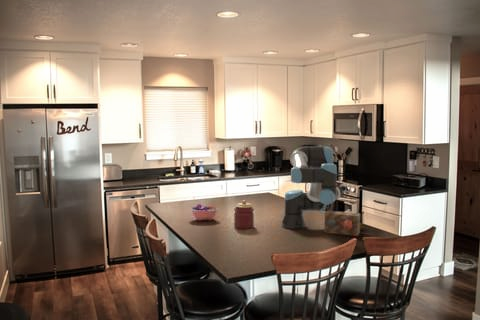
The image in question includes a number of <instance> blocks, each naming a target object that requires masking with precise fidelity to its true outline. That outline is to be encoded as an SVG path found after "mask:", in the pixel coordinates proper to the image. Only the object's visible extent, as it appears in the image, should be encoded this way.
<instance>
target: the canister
mask: <svg viewBox="0 0 480 320" xmlns="http://www.w3.org/2000/svg"><path fill="white" fill-rule="evenodd" d="M253 206H254V205H253V204H252V203H250V202H247V200H244V199H243V200H242V201H241V202H238V203H236V204H235V208H234V209H233V210H234V213H233V216H234V217H233V221H234V222H233V226H234V228H235V229H236V230H237V229H238V230H251V229H254V226H255V213H254V211H255V209H254V207H253Z"/></svg>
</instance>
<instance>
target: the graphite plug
mask: <svg viewBox="0 0 480 320" xmlns="http://www.w3.org/2000/svg"><path fill="white" fill-rule="evenodd" d="M327 223H328V225H329V226H330V227H334V226H335V225H336V223H337V222H336V219H334V218H330V219H329V220H328V222H327Z"/></svg>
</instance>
